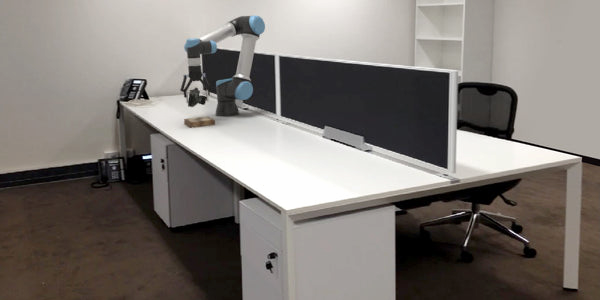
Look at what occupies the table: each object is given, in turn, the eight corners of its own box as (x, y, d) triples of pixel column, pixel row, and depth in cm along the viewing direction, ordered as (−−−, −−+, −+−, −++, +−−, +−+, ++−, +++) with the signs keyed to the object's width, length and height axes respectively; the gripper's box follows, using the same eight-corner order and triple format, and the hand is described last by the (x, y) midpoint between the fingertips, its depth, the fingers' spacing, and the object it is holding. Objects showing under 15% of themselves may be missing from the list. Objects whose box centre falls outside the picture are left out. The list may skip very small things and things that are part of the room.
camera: (202, 109, 349) (205, 92, 347) (186, 106, 348) (189, 89, 346) (206, 105, 366) (208, 88, 364) (191, 102, 365) (193, 86, 363)
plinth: (208, 121, 368) (208, 116, 367) (215, 124, 355) (214, 119, 354) (184, 124, 362) (184, 118, 362) (190, 127, 349) (189, 122, 348)
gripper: (212, 63, 358) (215, 99, 363) (173, 66, 349) (176, 103, 354) (216, 64, 352) (218, 100, 356) (175, 67, 343) (179, 104, 347)
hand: (197, 102), depth 355 cm, fingers closed on camera, 11 cm apart
